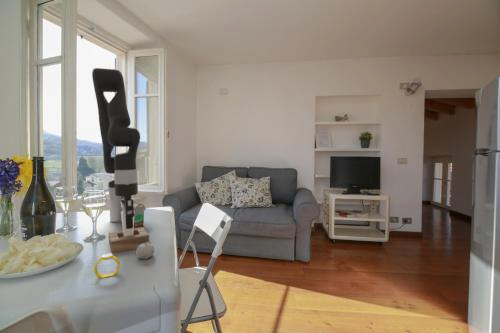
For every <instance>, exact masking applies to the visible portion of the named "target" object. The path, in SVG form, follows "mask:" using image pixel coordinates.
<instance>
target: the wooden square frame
mask: <svg viewBox="0 0 500 333" xmlns="http://www.w3.org/2000/svg"><path fill="white" fill-rule="evenodd" d="M145 242H150V235H149V233H148V232H147V231H146V229H145V228H144V226H143V227H140V228H134V234H133V235H132V236H127V237H124V236H123V229H122V230H117V231H110V232H108V243H109V248H110V254H116V253H117V254H118V253H121V252H125V251H131V250H135V249H137V247H138V246H139V245H141V244H143V243H145Z"/></svg>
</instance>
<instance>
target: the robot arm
mask: <svg viewBox="0 0 500 333" xmlns="http://www.w3.org/2000/svg"><path fill="white" fill-rule="evenodd" d="M91 76H92V85H93V88H94V94H95V99H96V104H97V109H98V110H97V112H98V121H99V125H98V126H99V131H100V137H101V143H102V154H103V167H104V171H105V173H107V174H114V176H113V177H114V179H113V180H110V181H109V182H108V201H109V202H108V203H109V222H111V223H122V219H121V212H122V211H123V213H125V218H126V228H127V229H131V228H133V217H134V207H135V206H134V202H135V201H134V199H133V198H132V196H136V195H138V194H139V190H138V189H139V188H138V186H139V184H138V172H137V152H138V148H139V145H140V142H141V133H140V131H139V130H138V129H137V128H135V127H130V125H131V117H130V114H129V111H128V107H127V95H126V87H125V80H124V77H123V73H122V72H121V71H120V70H119V69H115V68H114V69H113V68H101V67H95V68H93V69H92V72H91ZM104 93H115V94H114V96H113V98H111V100H110V101H108V100H107V98H106V96H105V94H104ZM115 147H116V148H119V147H120V148H121V147H123V148H124V147H126V148H128V150H127V151H125V152H121V153H120V152H119V153H117V154H113V155H112V151H113V150H114V148H115ZM129 212H131V214H128V213H129Z"/></svg>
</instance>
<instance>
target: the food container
mask: <svg viewBox="0 0 500 333" xmlns="http://www.w3.org/2000/svg"><path fill="white" fill-rule="evenodd" d="M145 211H146V206H145V204H143V203H138V205H137V206H134V228H140V227H143V228H144V224H145V223H144V222H145V221H144V220H145V219H144V218H145Z"/></svg>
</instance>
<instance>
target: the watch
mask: <svg viewBox="0 0 500 333" xmlns="http://www.w3.org/2000/svg"><path fill="white" fill-rule="evenodd" d="M111 259H112V260H114V261H115V262H116V263H117V269H116V270H115V271H114V272H112V273H107V274H102V273H100V272H99V271H98V269H97V268H98V263H100V262H101V261H107V260H111ZM120 266H121V263H120V259H119V258H118V257H117V256H115V255H114V253H104V254H102V255H101V257H100V258H99V259H97V261H96V263H95V264H94V268H93V272H94V274H95V276H96V277H98V278H99V279H104V278H111V277H114V276H116V274H118V273H119V270H120Z"/></svg>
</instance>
